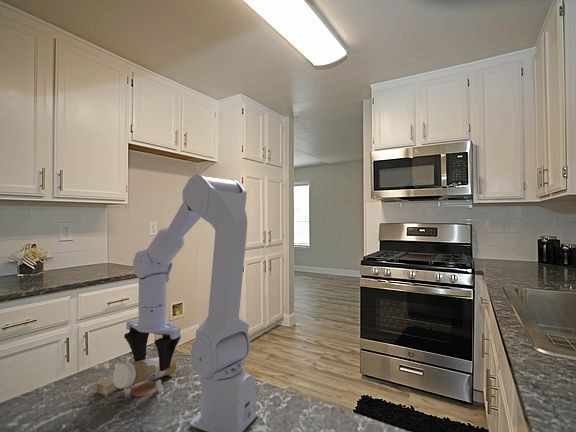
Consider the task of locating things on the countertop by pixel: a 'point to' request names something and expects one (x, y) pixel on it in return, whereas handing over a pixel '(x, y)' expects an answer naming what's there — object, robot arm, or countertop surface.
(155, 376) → the sprinkles bottle
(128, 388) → the guide pins
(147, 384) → the wooden bar with disc
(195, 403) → the countertop surface
